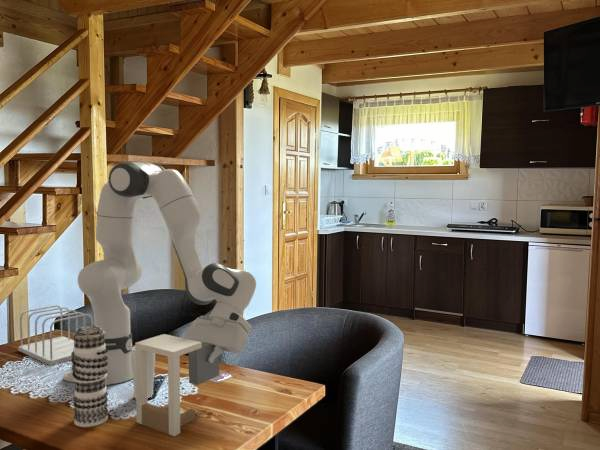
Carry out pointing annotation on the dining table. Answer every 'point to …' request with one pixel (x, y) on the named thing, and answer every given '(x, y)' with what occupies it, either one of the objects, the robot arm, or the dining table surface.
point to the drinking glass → (149, 371)
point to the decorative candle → (89, 376)
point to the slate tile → (202, 365)
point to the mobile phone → (221, 377)
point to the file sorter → (55, 347)
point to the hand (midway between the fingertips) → (202, 360)
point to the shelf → (170, 414)
